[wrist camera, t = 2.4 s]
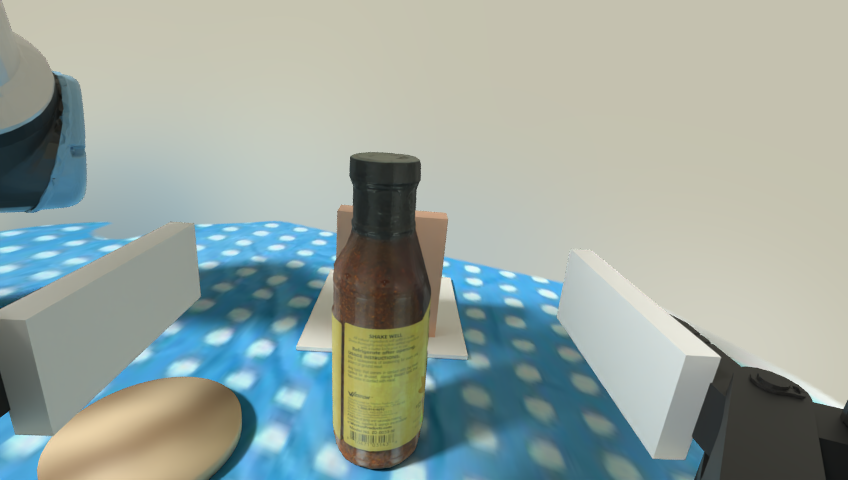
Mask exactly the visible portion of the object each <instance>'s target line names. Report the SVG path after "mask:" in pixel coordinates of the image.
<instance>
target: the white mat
mask: <svg viewBox="0 0 848 480" xmlns="http://www.w3.org/2000/svg"><path fill="white" fill-rule="evenodd" d="M333 273H334V270H330V273H329V275H328V277H327V279H326V281H325V284H324V286H323V288H322V290H321V293H320V295H319V297H318V299H317V302H316V304H315V306H314V308H313V310H312V313H311V315H310V317H309V319H308V322H307V324H306V326H305V328H304V330H303V333H302V335H301V337H300V339H299V342H298V344H297V346H296V350H305V351H322V352H332V306H333V304H334V301H333V292H334V291H333V284H334V283H333ZM427 351H428V355H427V358H445V359H462V360H467V359H468V354H467V350H466V345H465V341H464V336H463V332H462V327H461V323H460V318H459V314H458V309H457V305H456V301H455V296H454V292H453V287H452V283H451V278H446V277H442V278H441V287H440V295H439V304H438V313H437V322H436V331H435V337H429V340H428V347H427Z"/></svg>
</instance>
